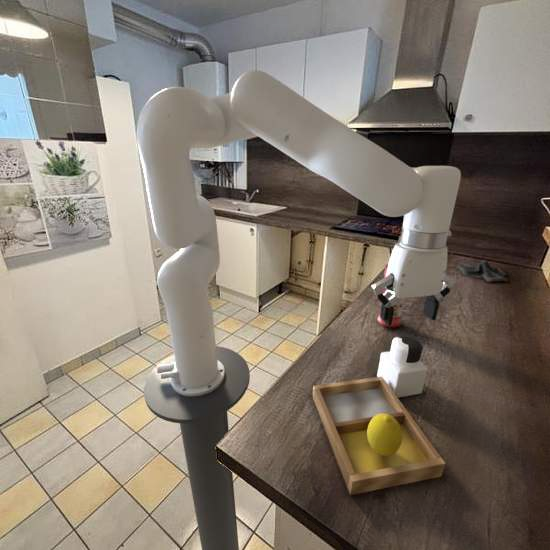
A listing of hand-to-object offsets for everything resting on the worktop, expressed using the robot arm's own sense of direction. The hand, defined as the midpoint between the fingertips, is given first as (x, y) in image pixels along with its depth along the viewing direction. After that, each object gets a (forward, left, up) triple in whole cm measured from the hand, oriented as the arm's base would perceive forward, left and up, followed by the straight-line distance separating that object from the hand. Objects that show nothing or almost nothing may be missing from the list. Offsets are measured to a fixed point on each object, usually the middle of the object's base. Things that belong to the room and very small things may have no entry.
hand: (407, 319), depth 59 cm
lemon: (-11, -14, -17) cm, 25 cm away
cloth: (+77, +55, -18) cm, 96 cm away
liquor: (+13, +24, -18) cm, 33 cm away
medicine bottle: (+1, 0, -18) cm, 18 cm away
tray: (-11, -10, -18) cm, 23 cm away
